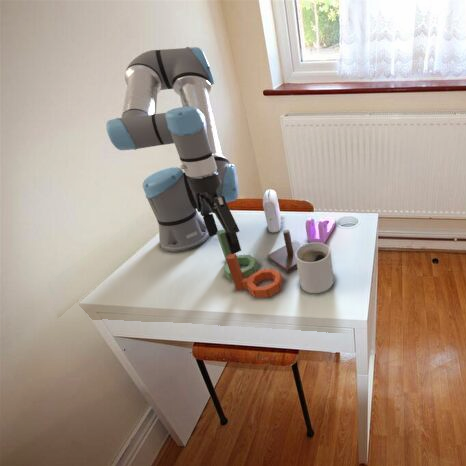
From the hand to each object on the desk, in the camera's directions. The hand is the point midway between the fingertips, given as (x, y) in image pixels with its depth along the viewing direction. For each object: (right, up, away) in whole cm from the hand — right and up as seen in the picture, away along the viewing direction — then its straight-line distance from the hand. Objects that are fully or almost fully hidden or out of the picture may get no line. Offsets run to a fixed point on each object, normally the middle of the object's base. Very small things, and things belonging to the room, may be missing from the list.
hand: (224, 243), depth 93 cm
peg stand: (+19, -5, +3) cm, 19 cm away
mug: (+28, -10, -5) cm, 30 cm away
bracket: (+27, +3, +15) cm, 31 cm away
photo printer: (+10, +6, +20) cm, 23 cm away
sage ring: (+4, -7, +1) cm, 8 cm away
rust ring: (+12, -11, -7) cm, 18 cm away
